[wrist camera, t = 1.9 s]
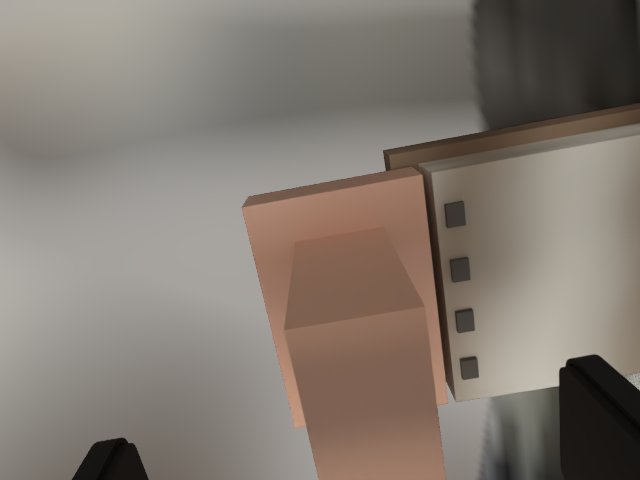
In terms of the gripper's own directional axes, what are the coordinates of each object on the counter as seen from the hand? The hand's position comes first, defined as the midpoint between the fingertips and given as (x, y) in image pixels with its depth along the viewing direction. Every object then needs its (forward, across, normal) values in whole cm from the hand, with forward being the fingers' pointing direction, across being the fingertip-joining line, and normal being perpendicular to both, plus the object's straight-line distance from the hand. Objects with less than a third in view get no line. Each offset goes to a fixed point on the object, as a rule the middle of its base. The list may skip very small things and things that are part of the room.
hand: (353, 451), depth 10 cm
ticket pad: (+10, -12, 0) cm, 15 cm away
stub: (+8, -1, 0) cm, 8 cm away
